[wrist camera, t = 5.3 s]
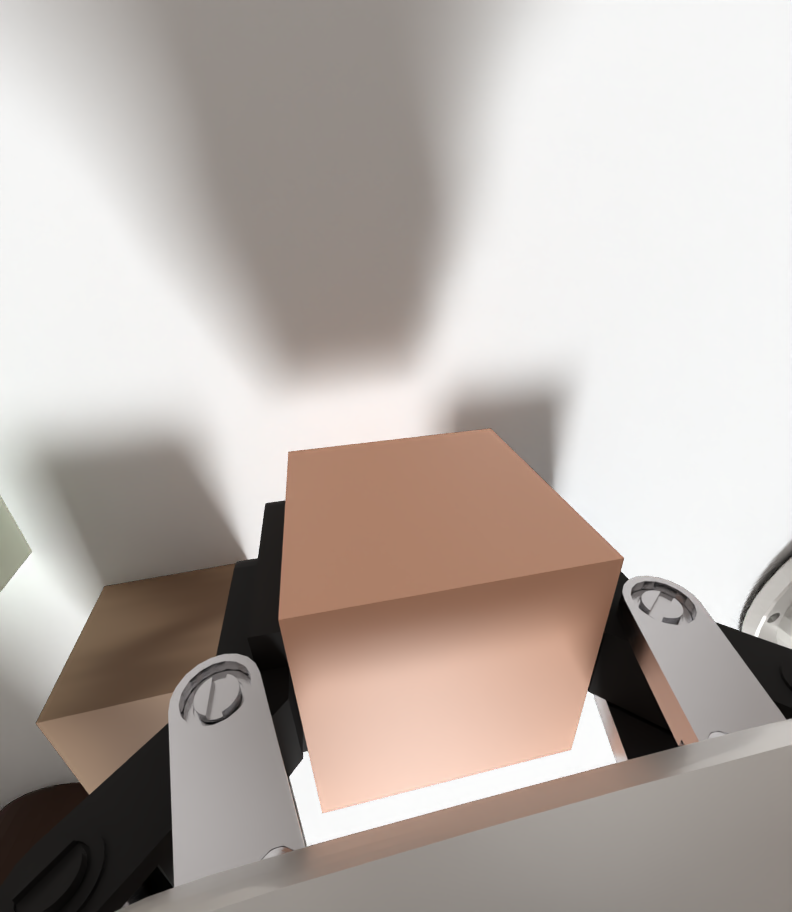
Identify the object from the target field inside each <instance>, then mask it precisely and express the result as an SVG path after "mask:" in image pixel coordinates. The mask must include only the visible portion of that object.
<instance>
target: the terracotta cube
mask: <svg viewBox="0 0 792 912" xmlns="http://www.w3.org/2000/svg"><path fill="white" fill-rule="evenodd" d="M623 560H624V558H623V557H622V556H621V555H620V554H619V553H618V552H617V551H616V550H615V549H614V548H613V547H612V546H611V545H610V544H609V543H608V542H607V541H606V540H605V539H604V538H603V537H602V536H601V535H600V534H599V533H598V532H597V531H596V530H595V529H594V528H593V527H592V526H591V525H590V524H589V523H587V522H586V521H585V520H584V519H583V518H582V517H581V516H580V515H579V514H578V513H577V512H576V511H575V510H574V509H573V508H572V507H571V506H570V505H569V504H568V503H567V502H566V501H565V500H564V499H563V498H562V497H561V496H560V495H559V494H558V493H557V492H556V491H555V490H554V489H552V488H551V487H550V486H549V485H548V484H547V483H546V482H545V481H544V480H543V479H542V478H541V477H540V476H539V475H538V474H537V473H536V472H535V471H534V470H533V469H532V468H531V467H530V466H529V465H528V464H527V463H526V462H525V461H524V460H523V459H522V458H521V457H520V456H519V455H517V454H516V453H515V452H514V451H513V450H512V449H511V448H510V447H509V446H508V445H507V444H506V443H505V442H504V441H503V440H502V439H501V438H500V437H499V436H498V435H497V434H496V433H495V432H494V431H493V430H492V429H491V428H489V429H480V430H472V431H463V432H455V433H446V434H437V435H429V436H420V437H412V438H403V439H394V440H386V441H377V442H368V443H360V444H351V445H343V446H334V447H325V448H317V449H308V450H299V451H291V452H288V467H287V484H286V501H285V517H284V534H283V551H282V567H281V584H280V600H279V617H278V621H279V625H280V629H281V634H282V638H283V643H284V647H285V651H286V656H287V660H288V665H289V669H290V673H291V678H292V682H293V686H294V691H295V695H296V700H297V704H298V708H299V713H300V717H301V721H302V726H303V730H304V735H305V739H306V743H307V748H308V752H309V757H310V761H311V765H312V770H313V774H314V778H315V783H316V787H317V792H318V796H319V800H320V805H321V809H322V813H326V812H330V811H334V810H338V809H342V808H345V807H349V806H353V805H357V804H361V803H365V802H369V801H373V800H377V799H381V798H384V797H388V796H392V795H396V794H400V793H404V792H408V791H412V790H416V789H420V788H424V787H427V786H431V785H435V784H439V783H443V782H447V781H451V780H455V779H459V778H463V777H467V776H470V775H474V774H478V773H482V772H486V771H490V770H494V769H498V768H502V767H506V766H510V765H513V764H517V763H521V762H525V761H529V760H533V759H537V758H541V757H545V756H549V755H553V754H556V753H560V752H564V751H568V750H571V748H572V744H573V741H574V737H575V734H576V730H577V726H578V723H579V719H580V716H581V712H582V708H583V705H584V701H585V697H586V694H587V690H588V687H589V683H590V679H591V676H592V672H593V669H594V665H595V661H596V658H597V654H598V651H599V647H600V643H601V640H602V636H603V633H604V629H605V625H606V622H607V618H608V615H609V611H610V607H611V604H612V600H613V596H614V593H615V589H616V586H617V582H618V578H619V575H620V571H621V568H622V564H623Z"/></svg>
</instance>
